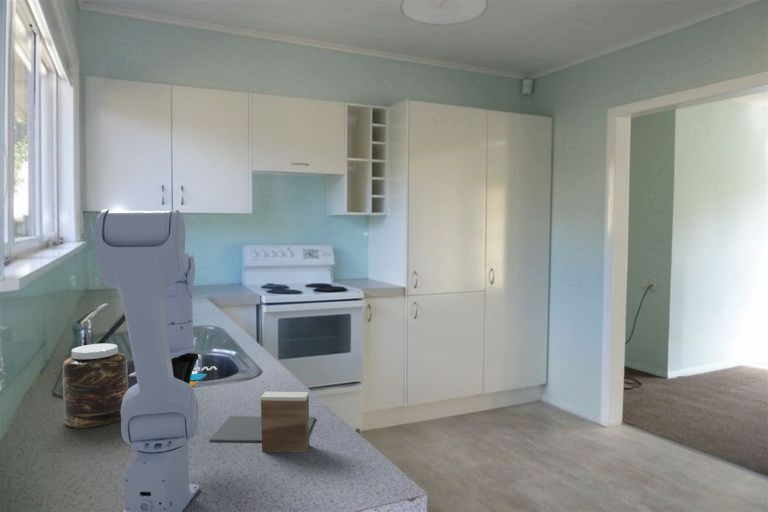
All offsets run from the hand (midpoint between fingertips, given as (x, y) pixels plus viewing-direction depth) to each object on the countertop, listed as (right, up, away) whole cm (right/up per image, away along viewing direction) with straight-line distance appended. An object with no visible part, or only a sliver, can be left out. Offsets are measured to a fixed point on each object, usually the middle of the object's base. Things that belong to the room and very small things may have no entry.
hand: (177, 398), depth 94 cm
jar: (-24, -9, +19) cm, 33 cm away
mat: (+12, -10, +13) cm, 20 cm away
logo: (-19, -8, +46) cm, 51 cm away
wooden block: (+18, -10, +4) cm, 21 cm away
